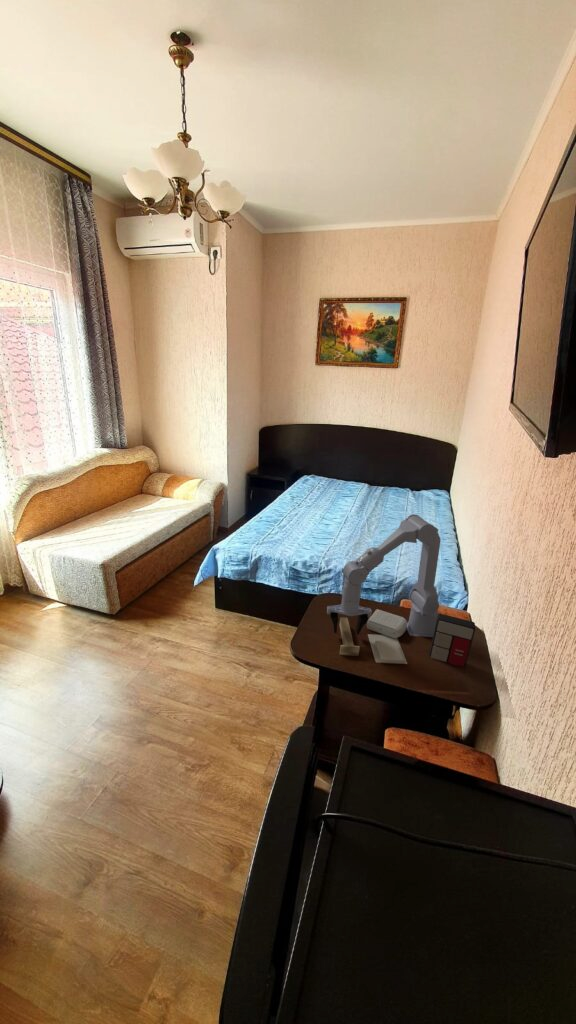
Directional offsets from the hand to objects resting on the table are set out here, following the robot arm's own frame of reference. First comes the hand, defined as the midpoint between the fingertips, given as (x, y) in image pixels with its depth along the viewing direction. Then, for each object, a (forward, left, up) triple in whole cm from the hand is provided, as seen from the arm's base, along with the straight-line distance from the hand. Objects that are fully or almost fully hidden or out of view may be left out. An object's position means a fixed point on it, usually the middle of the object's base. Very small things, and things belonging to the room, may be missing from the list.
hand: (346, 631), depth 137 cm
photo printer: (-10, -10, -1) cm, 14 cm away
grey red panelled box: (-32, +8, -3) cm, 33 cm away
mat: (-13, +4, -3) cm, 14 cm away
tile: (-13, +3, -2) cm, 13 cm away
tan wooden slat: (0, +1, -3) cm, 3 cm away
